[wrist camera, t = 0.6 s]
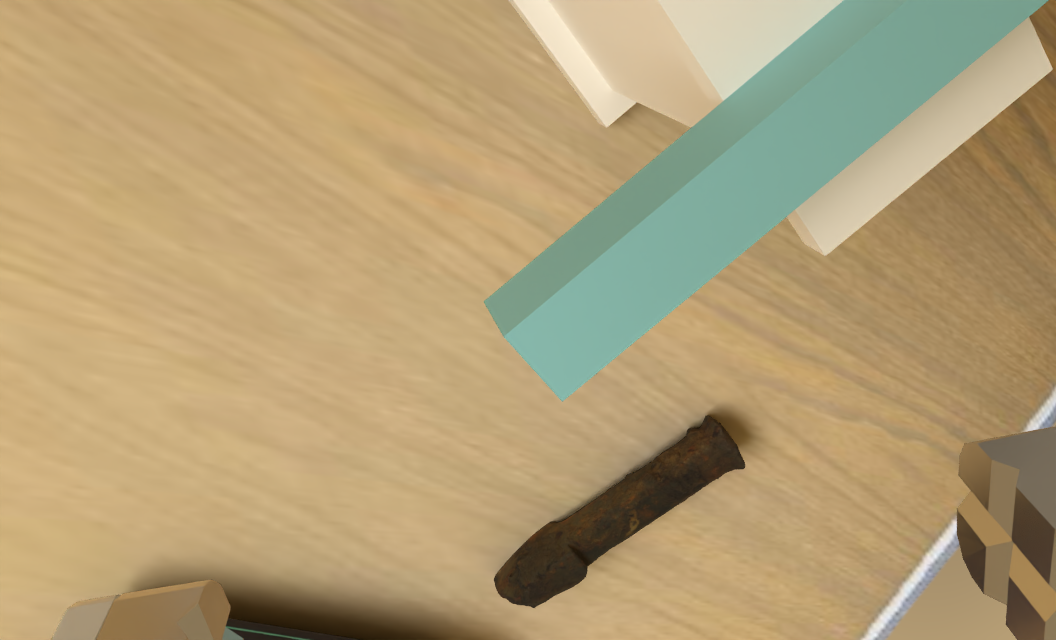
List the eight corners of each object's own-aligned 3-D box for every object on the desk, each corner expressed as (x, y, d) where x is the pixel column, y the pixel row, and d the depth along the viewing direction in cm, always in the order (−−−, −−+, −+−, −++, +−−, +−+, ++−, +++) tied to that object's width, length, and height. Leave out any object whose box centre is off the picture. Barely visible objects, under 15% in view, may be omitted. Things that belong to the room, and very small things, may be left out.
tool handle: (538, 362, 33) (562, 401, 30) (483, 301, 31) (503, 336, 29) (1131, -129, 31) (1212, -135, 29) (1099, -215, 30) (1181, -229, 27)
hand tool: (707, 403, 67) (736, 434, 63) (729, 445, 68) (759, 478, 64) (473, 547, 67) (486, 588, 62) (501, 585, 68) (515, 628, 64)
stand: (598, 123, 57) (825, 256, 34) (484, -33, 53) (655, -3, 29) (730, 12, 57) (1052, 69, 33) (626, -155, 52) (918, -225, 29)
